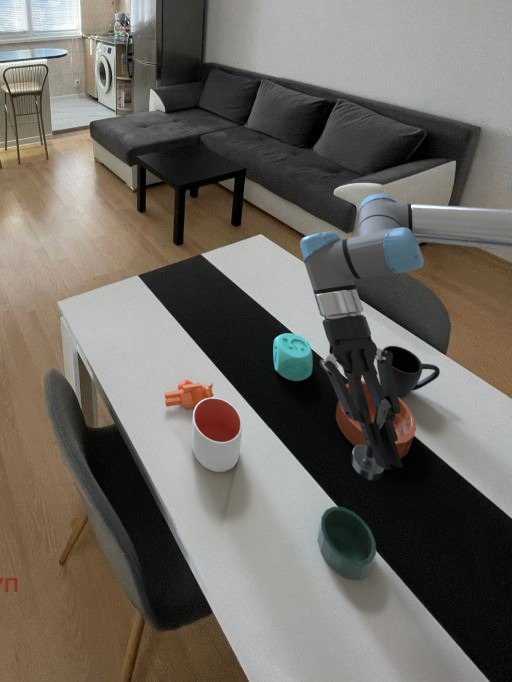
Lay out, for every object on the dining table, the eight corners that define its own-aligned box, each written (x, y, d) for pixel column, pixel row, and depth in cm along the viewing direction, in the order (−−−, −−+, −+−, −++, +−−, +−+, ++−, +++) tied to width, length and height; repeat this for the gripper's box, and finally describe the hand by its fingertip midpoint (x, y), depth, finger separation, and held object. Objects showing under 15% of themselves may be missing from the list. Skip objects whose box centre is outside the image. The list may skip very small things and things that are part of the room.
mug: (437, 411, 98) (448, 382, 95) (378, 398, 102) (386, 369, 98) (425, 381, 106) (434, 352, 102) (370, 370, 109) (377, 342, 106)
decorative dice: (272, 353, 115) (275, 330, 112) (303, 357, 114) (307, 334, 111) (276, 378, 108) (279, 355, 105) (310, 383, 107) (314, 360, 103)
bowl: (406, 414, 98) (411, 395, 96) (412, 475, 87) (419, 456, 84) (336, 389, 105) (340, 372, 102) (334, 443, 93) (338, 424, 91)
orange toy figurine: (167, 396, 99) (217, 389, 100) (160, 377, 106) (206, 370, 107) (168, 417, 99) (218, 409, 100) (161, 396, 106) (208, 389, 108)
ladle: (381, 458, 78) (401, 393, 72) (383, 486, 74) (404, 419, 68) (350, 446, 80) (367, 382, 74) (350, 472, 76) (368, 407, 70)
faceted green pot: (369, 537, 78) (374, 521, 76) (371, 593, 71) (376, 576, 69) (319, 513, 81) (322, 497, 79) (315, 564, 74) (319, 548, 73)
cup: (236, 482, 87) (239, 450, 83) (187, 465, 90) (188, 434, 86) (240, 435, 95) (243, 404, 92) (196, 422, 99) (197, 391, 95)
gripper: (365, 311, 84) (413, 452, 75) (297, 321, 83) (337, 466, 74) (390, 310, 78) (446, 464, 69) (316, 320, 76) (363, 480, 67)
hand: (389, 465), depth 71 cm, fingers closed on ladle
